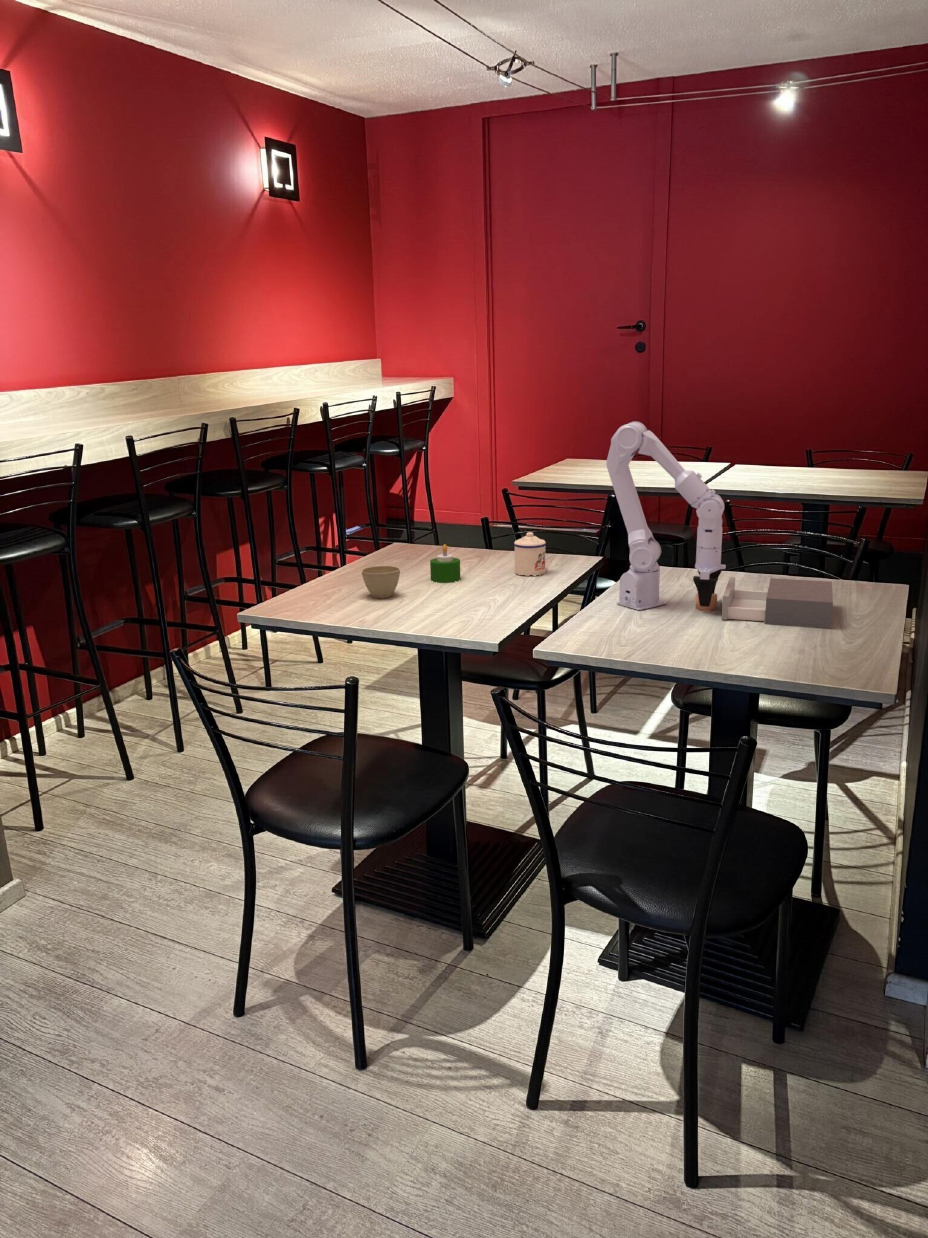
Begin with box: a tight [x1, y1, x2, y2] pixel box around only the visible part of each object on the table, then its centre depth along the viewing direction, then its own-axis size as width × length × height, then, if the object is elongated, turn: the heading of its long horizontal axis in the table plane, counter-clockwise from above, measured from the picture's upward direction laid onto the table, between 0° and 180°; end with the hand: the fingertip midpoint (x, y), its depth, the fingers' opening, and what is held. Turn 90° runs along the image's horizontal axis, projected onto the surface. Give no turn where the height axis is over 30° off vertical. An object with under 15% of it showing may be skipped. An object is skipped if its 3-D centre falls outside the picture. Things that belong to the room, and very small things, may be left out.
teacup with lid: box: [513, 531, 547, 577], centre depth 266 cm, size 12×9×12 cm
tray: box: [721, 576, 768, 622], centre depth 222 cm, size 12×20×6 cm, turn 160°
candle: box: [429, 543, 461, 584], centre depth 260 cm, size 8×8×10 cm
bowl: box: [361, 565, 401, 599], centre depth 244 cm, size 10×10×7 cm
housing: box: [764, 577, 834, 629], centre depth 218 cm, size 14×20×6 cm
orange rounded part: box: [694, 592, 718, 612], centre depth 226 cm, size 5×5×4 cm
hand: (706, 602), depth 226 cm, fingers open, 7 cm apart
